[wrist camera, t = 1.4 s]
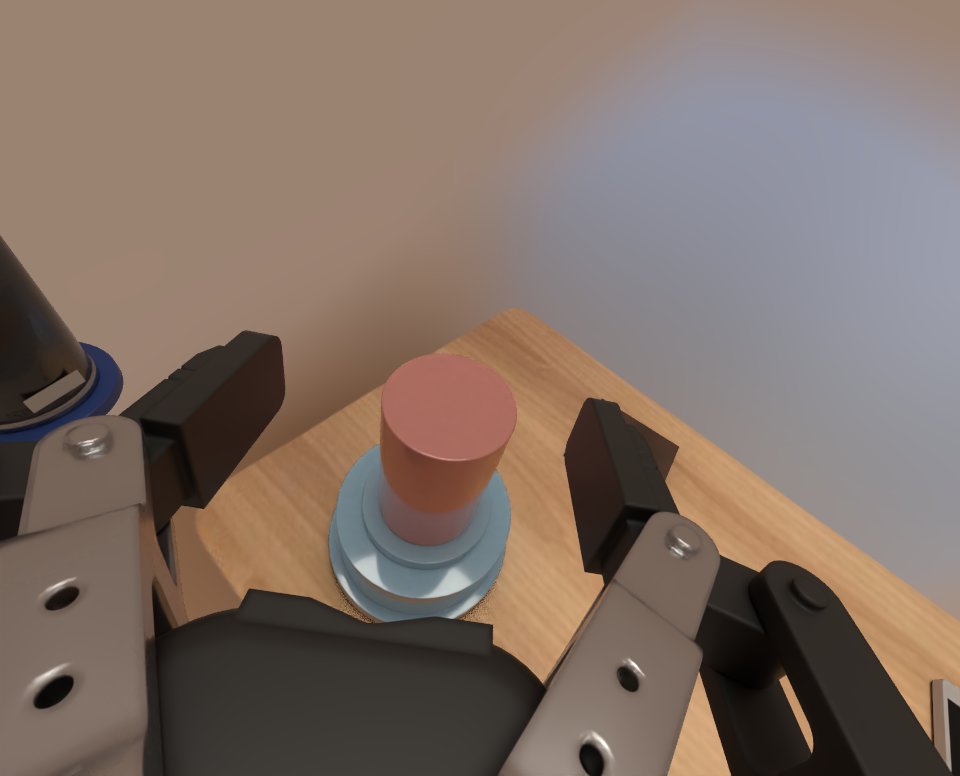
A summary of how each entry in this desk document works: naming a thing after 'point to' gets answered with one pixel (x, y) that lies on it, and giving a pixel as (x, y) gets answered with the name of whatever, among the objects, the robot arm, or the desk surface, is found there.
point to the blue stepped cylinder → (412, 554)
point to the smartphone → (947, 723)
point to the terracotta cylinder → (440, 444)
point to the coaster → (656, 445)
